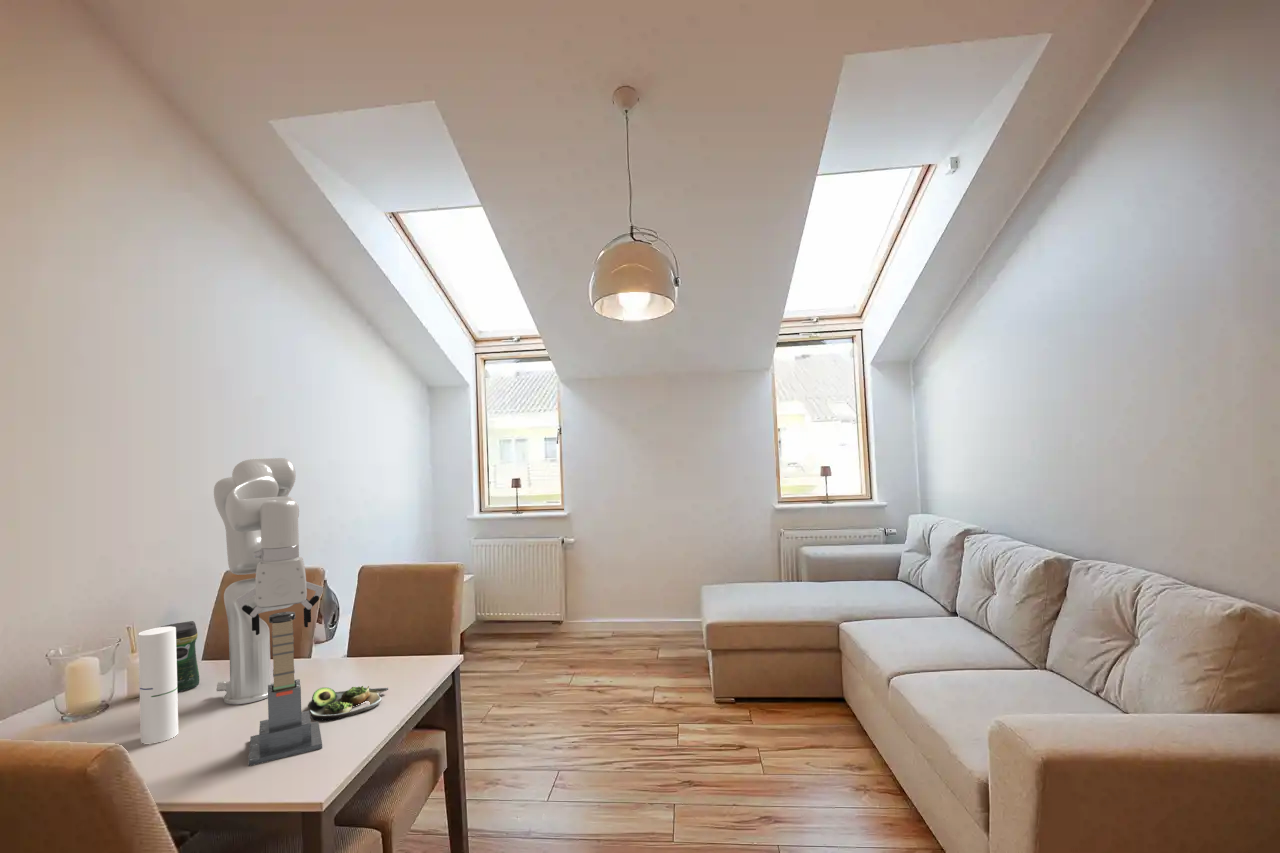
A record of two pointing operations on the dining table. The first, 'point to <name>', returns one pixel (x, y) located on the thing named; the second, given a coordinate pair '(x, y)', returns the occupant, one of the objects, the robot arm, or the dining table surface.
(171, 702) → the cylindrical container
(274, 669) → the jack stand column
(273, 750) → the stand
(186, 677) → the coffee jar
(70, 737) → the dining table surface
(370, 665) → the dining table surface
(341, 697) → the salad plate
